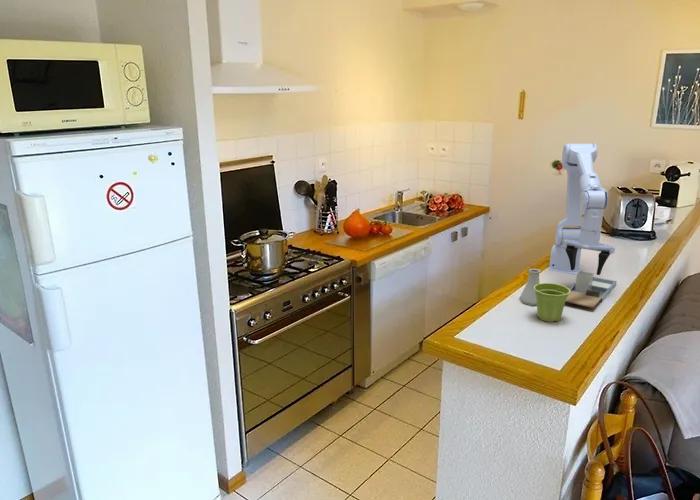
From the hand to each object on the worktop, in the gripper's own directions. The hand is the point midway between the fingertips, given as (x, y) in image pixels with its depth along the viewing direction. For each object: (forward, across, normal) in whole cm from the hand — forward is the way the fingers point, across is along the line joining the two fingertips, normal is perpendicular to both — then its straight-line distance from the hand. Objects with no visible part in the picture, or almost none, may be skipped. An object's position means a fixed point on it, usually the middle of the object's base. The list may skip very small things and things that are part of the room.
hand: (585, 271), depth 165 cm
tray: (+7, +2, +2) cm, 7 cm away
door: (+5, +2, -12) cm, 13 cm away
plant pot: (+7, -2, -27) cm, 28 cm away
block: (+6, 0, 0) cm, 6 cm away
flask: (+7, -10, -18) cm, 21 cm away
